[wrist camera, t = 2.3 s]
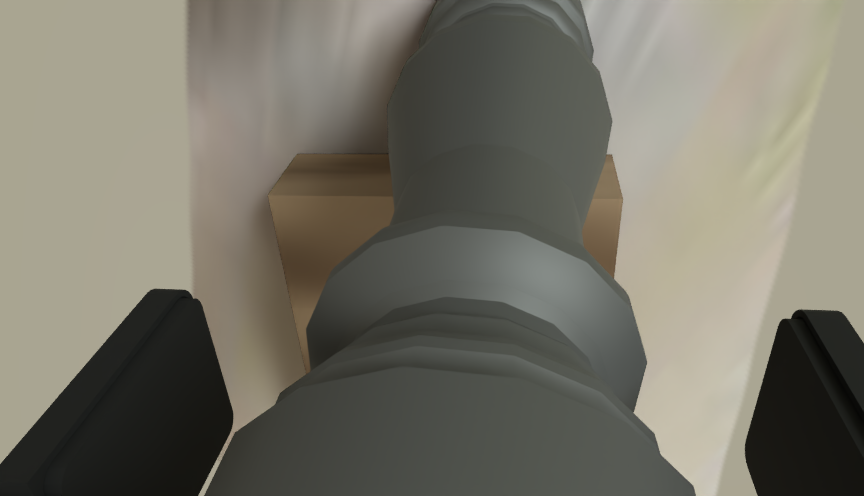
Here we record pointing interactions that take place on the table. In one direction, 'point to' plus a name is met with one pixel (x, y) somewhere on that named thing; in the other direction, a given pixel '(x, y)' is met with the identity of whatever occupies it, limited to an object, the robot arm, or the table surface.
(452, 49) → the candle holder
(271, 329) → the table surface
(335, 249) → the holder board
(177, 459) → the robot arm
